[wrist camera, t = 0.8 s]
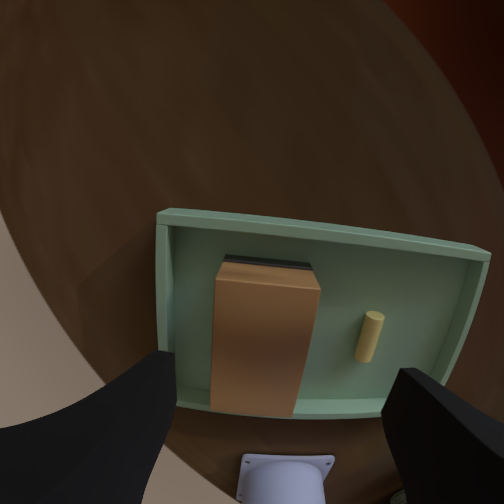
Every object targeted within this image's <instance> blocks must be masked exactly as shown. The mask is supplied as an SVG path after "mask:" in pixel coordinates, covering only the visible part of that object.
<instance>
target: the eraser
mask: <svg viewBox="0 0 504 504" xmlns="http://www.w3.org/2000/svg"><path fill="white" fill-rule="evenodd" d="M320 293H321V288H320V286H319V284H318V282H317V280H316V277H315V275H314V273H313V268H312V266H311V264H310V263H307V262H297V261H288V260H278V259H268V258H258V257H249V256H239V255H229V254H225V256H224V258H223V263H222V265H221V267H220V269H219V271H218V273H217V275H216V278H215V283H214V301H213V322H212V345H211V375H210V410H211V411H219V412H226V413H235V414H245V415H256V416H269V417H287V418H291V417H292V415H293V412H294V408H295V404H296V400H297V396H298V393H299V389H300V385H301V381H302V377H303V372H304V368H305V364H306V360H307V355H308V351H309V347H310V342H311V337H312V333H313V328H314V323H315V318H316V313H317V308H318V303H319V298H320Z"/></svg>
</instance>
